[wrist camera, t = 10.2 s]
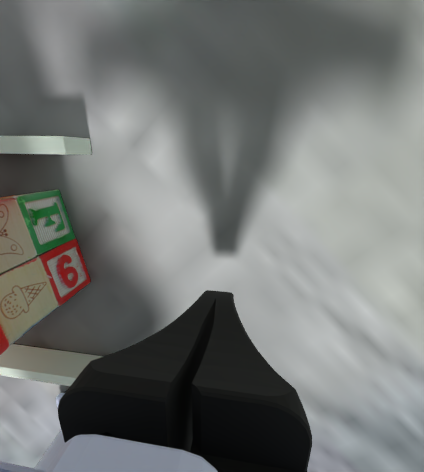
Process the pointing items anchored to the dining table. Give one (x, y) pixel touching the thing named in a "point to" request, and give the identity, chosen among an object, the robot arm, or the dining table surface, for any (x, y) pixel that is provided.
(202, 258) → the dining table surface
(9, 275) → the stack of blocks
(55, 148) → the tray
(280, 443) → the robot arm
